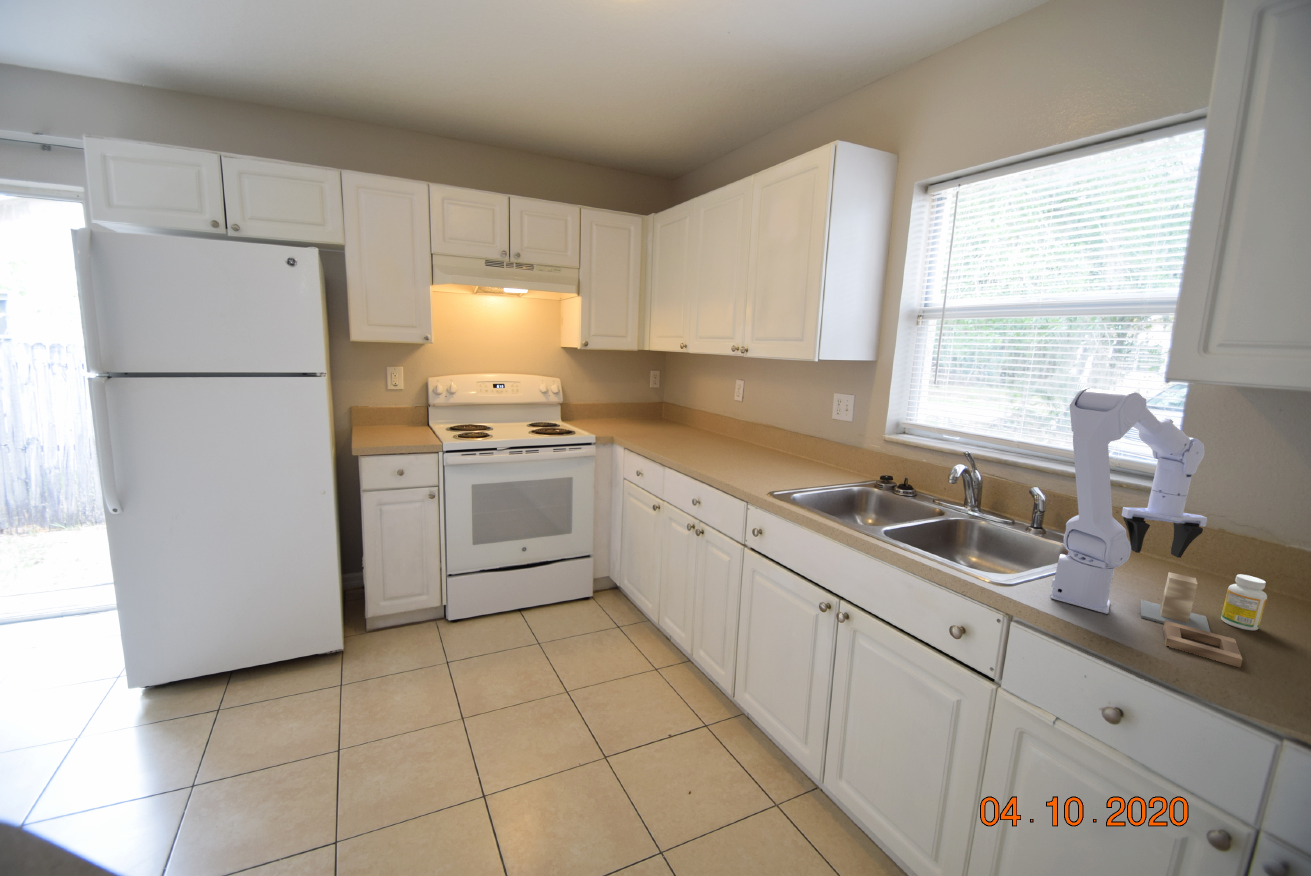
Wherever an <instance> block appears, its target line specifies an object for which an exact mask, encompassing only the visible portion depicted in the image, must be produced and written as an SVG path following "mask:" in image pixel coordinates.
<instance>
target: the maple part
mask: <svg viewBox="0 0 1311 876" xmlns="http://www.w3.org/2000/svg"><path fill="white" fill-rule="evenodd" d="M1167 574H1168V575H1167V578H1166V583H1165V586H1164V591H1163V594H1162V601H1161V603H1160V605H1161V608H1160V613H1161V616H1163V617H1167V618H1171V619H1175V620H1178V621H1182V622H1186V623H1188V622H1189V618H1190V614H1191V613H1192V610H1193V606H1194V605H1193V604H1194V600H1195V596H1196V592H1197V589H1198V585H1199V583H1198V580H1197V578H1196V577H1191V576H1187V575H1185V574H1184V575H1182V574H1178V573H1174V572H1170V571H1168V573H1167Z"/></svg>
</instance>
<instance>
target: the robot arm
mask: <svg viewBox="0 0 1311 876" xmlns="http://www.w3.org/2000/svg"><path fill="white" fill-rule="evenodd" d="M1069 415H1070V424H1071V426H1070V427H1071V432H1073V434H1072V446H1073V458H1074V459H1073V460H1074V469H1075V470H1074V471H1075V472H1074V473H1075V484H1076V496H1077V497H1076V499H1077V509H1078V514H1077V515H1075V516H1073V517H1071V518H1070V519H1068V521H1067V522H1066V523H1065V532H1064V535H1063V546H1064V548H1065V549H1066V550H1067V551H1068V552H1067V554H1064V553H1061V554H1059V557H1058V562H1057V565H1056V571H1055V575H1054V578H1052V582H1051V587H1052V590H1051V596H1050V599H1052V600H1056V601H1058V602H1059V601H1060V602H1062V603H1066V604H1071V605H1074V606H1078V607H1080V608H1084V609H1089V610H1092V611H1095V612H1099V613H1102V614H1107V615H1108V614H1109V612H1110V603H1111V600H1110V598H1109V597H1110V594H1111V592H1110V591H1111V588H1112V583H1113V579H1114V578H1113V577H1114V574H1115V569H1116V568H1120V567H1121V566H1122V565H1124V564H1126V562H1128V560H1129V558H1130V557H1131V554H1132V552H1134V553H1138V554H1140V553H1141V551H1142V549H1143V544H1144V539H1145V536H1146V534H1147V532H1148V530H1149V529H1150V527H1151V525H1150V524H1149V523H1147V522H1146V521H1156V522H1157V521H1158V522H1166V523H1173V538H1172V539H1173V540H1172V544H1171V548H1170V549H1171V550H1170V555H1171V556H1174V557H1175V558H1179V559H1180V558H1181V559H1182V557H1183V555H1184V553H1185V551H1186V550H1187V548H1188V547H1189V546H1190V545H1191V543H1193V541H1194V540H1195V539H1197V537H1200V535H1202V534H1203V532H1204V529H1203V527H1206V526H1207V523H1208V517H1206V516H1203V515H1201V514H1194V513H1187V512H1185V507H1186V503H1187V500H1188V494H1189V491H1190V490H1189V489H1190V486H1191V481H1192V477H1193V475H1196V472H1197V471H1198V468H1199V466H1200V464H1201V462H1202V460H1203V459H1204V457H1205V454H1206V452H1205V451H1206V449H1205V445H1204V443H1203V442H1202V441H1200V439H1198V438H1195V437H1189V436H1188V435H1187V434H1185V432H1184V430H1182V429H1180V428H1178V426H1176V425H1175V424H1173V423H1174V421H1173V419H1171V418H1168V417H1162V418H1161V417H1159V418H1158V417H1156V416H1155V415H1154V414H1153V413H1152V412H1151V410H1149V408H1148V407H1147V399H1146V398H1145V397H1143V396H1142V394H1140V393H1139V392H1136V391H1135V392H1133V391H1131V392H1127V391H1125V392H1124V391H1116V390H1115V391H1114V390H1106V389H1095V388H1092V387H1084V388H1082V389H1080V390H1079V391H1078V392H1077V393H1076V394H1075V397H1073V400H1071V402H1070V403H1069ZM1132 428H1134V429H1135V430H1138V437H1139V439H1140V440H1141V441H1142V442H1143V443H1144V444H1145V445H1147V446H1148V447H1150V449H1151V451H1152V456H1153V459H1155V460H1157V463H1156V468H1155V471H1154V477H1153V481H1152V485H1151V490H1150V493H1149V498H1148V499H1149V500H1148V503H1147V507H1127V506H1126V507H1125V506H1123V507H1122V511H1121V516H1122V517H1123V522H1124V524H1125V526H1126V527H1124V526H1123V525H1122V524H1121V523H1120V522H1118V520H1116V518H1114V516H1113V504H1112V503H1113V502H1112V487H1111V471H1110V470H1111V469H1110V452H1109V444H1110V443H1111V442H1114V441H1119V440H1121V439H1122V438H1123V437H1124V436H1125V435H1126V434H1127V433H1128V432H1130V431H1131V429H1132ZM1126 528H1127V529H1126ZM1127 532H1128V535H1127ZM1128 536H1129V538H1128Z"/></svg>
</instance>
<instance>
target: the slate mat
mask: <svg viewBox="0 0 1311 876" xmlns="http://www.w3.org/2000/svg"><path fill="white" fill-rule="evenodd" d="M1139 602H1140V605H1139V606H1140V618H1142V619H1145V620H1149V621H1153V622H1155V621H1156V623H1160V624H1163V625H1164V622H1165V620H1166V621H1170V622H1174V623H1177V624H1181V625H1185V626H1188V627H1192V628H1196V629H1199V630H1203V631H1207V632H1211V628H1210V626H1209V622H1208V619H1207V615H1202V614H1197V613H1195V612H1191V614H1190V618H1189V622H1188V623H1186V622H1182V621H1178V620H1175V619H1171V618H1167V617H1163V616H1161V613H1160V608H1161V603H1160V604H1159V603H1155V602H1152V601H1149V600H1144V599H1140V601H1139Z"/></svg>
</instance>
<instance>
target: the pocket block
mask: <svg viewBox="0 0 1311 876" xmlns="http://www.w3.org/2000/svg"><path fill="white" fill-rule="evenodd" d="M1162 629H1163V637H1164V639H1163V640H1164V644H1165V645H1166V646H1165V645H1164V646H1165V647H1167V646H1169V647H1168V648H1171V649H1174V648H1175V649H1174V650H1178V649H1180V650H1179V651H1181V650H1182V652H1184V651H1185V653H1188V652H1190V653H1189V654H1191V653H1194V654H1193V655H1195V654H1196V656H1198V655H1199V657H1202V656H1203V657H1202V658H1205V657H1207V658H1206V659H1208V658H1209V660H1212V661H1215V660H1216V661H1215V662H1220V663H1223V664H1227V665H1230V666H1232V667H1236V668H1241V667H1242V664H1243V657H1242V654H1241V652H1240V649H1239V647H1238V644H1237V641H1236V638H1232V637H1229V636H1226V635H1225V636H1224V635H1222V634H1217V633H1215V632H1211V631H1210V632H1207V631H1203V630H1199V629H1196V628H1192V627H1188V626H1185V625H1181V624H1177V623H1174V622H1170V621H1166V620H1165V622H1164V624H1163V627H1162ZM1182 637H1183V638H1182ZM1185 638H1187V639H1185ZM1190 638H1191V639H1190ZM1189 639H1190V640H1189ZM1193 639H1194V640H1193ZM1195 641H1197V642H1195ZM1199 642H1201V643H1199ZM1203 643H1205V644H1203ZM1206 644H1208V645H1206ZM1210 645H1212V646H1210Z"/></svg>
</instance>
